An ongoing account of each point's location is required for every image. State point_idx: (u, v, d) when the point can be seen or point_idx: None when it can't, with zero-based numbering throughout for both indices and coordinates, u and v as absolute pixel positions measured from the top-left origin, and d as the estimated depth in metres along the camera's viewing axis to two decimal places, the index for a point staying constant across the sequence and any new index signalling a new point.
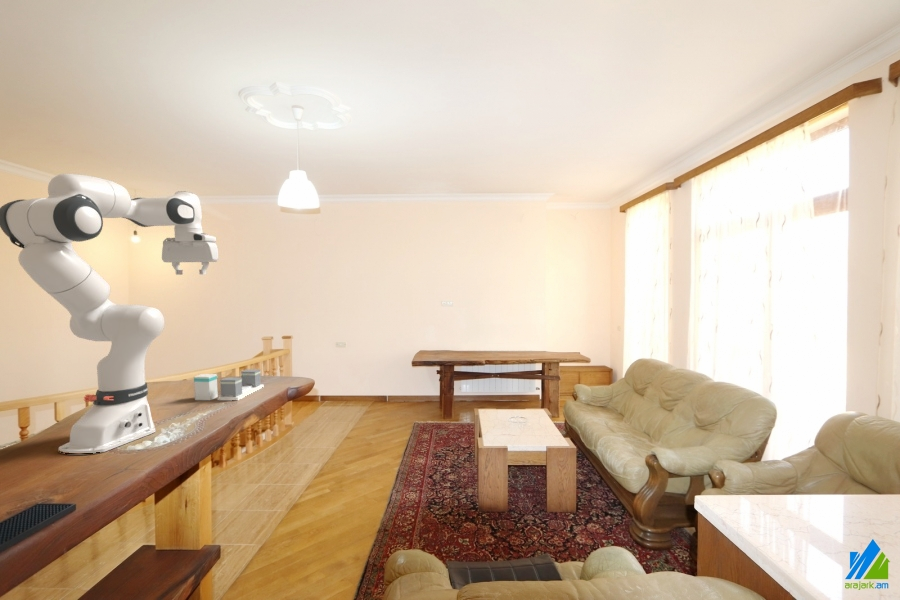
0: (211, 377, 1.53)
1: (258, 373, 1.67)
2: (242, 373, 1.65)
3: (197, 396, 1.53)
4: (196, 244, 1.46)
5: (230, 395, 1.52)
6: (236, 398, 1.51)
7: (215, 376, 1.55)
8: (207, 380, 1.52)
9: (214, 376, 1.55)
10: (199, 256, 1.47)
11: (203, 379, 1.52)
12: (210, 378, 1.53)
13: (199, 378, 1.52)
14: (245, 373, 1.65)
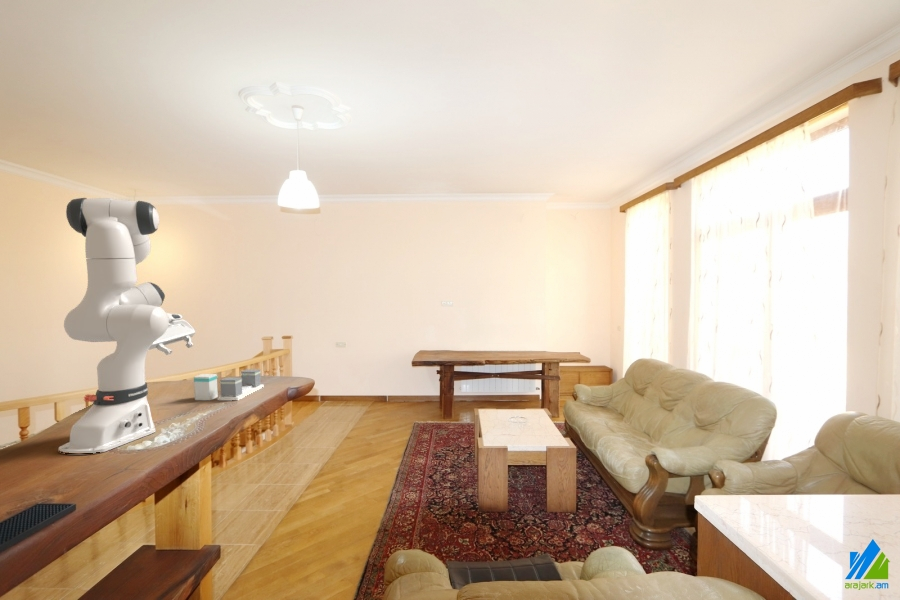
0: (211, 377, 1.53)
1: (258, 373, 1.67)
2: (242, 373, 1.65)
3: (197, 396, 1.53)
4: (176, 322, 1.60)
5: (230, 395, 1.52)
6: (236, 398, 1.51)
7: (215, 376, 1.55)
8: (207, 380, 1.52)
9: (214, 376, 1.55)
10: (183, 331, 1.61)
11: (203, 379, 1.52)
12: (210, 378, 1.53)
13: (199, 378, 1.52)
14: (245, 373, 1.65)
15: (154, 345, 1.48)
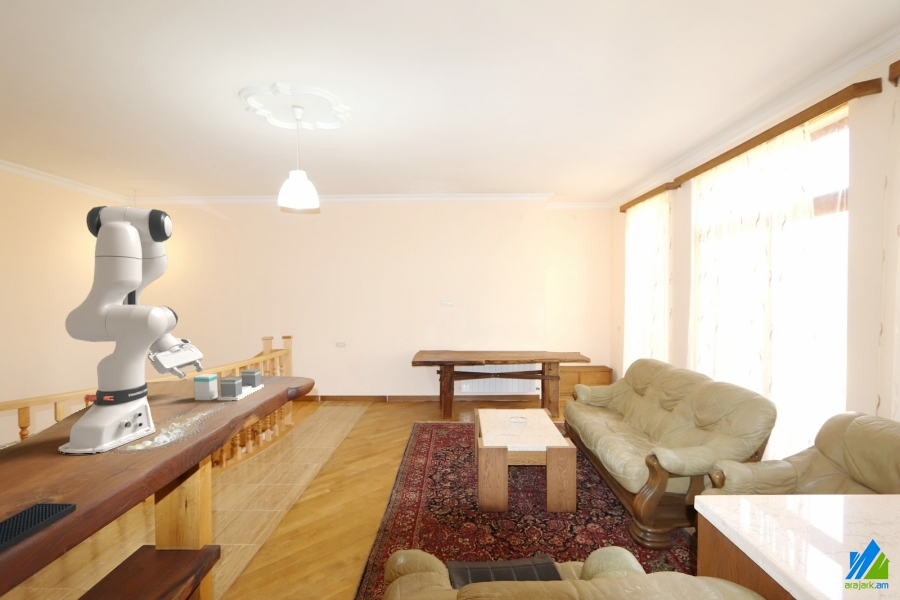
0: (211, 377, 1.53)
1: (258, 373, 1.67)
2: (242, 373, 1.65)
3: (197, 396, 1.53)
4: (185, 347, 1.59)
5: (230, 395, 1.52)
6: (236, 398, 1.51)
7: (215, 376, 1.55)
8: (207, 380, 1.52)
9: (214, 376, 1.55)
10: (193, 356, 1.60)
11: (203, 379, 1.52)
12: (210, 378, 1.53)
13: (199, 378, 1.52)
14: (245, 373, 1.65)
15: (169, 369, 1.47)
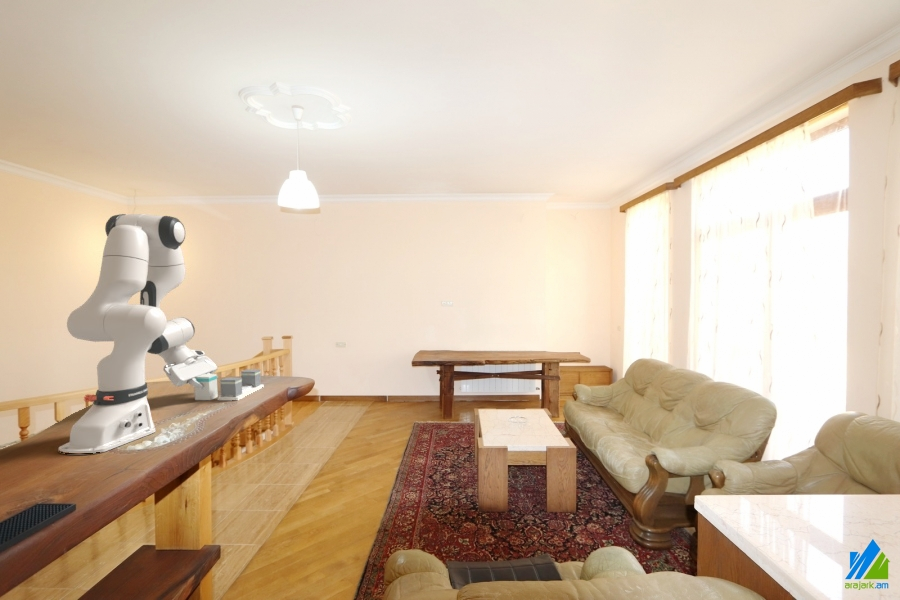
0: (211, 377, 1.53)
1: (258, 373, 1.67)
2: (242, 373, 1.65)
3: (197, 396, 1.53)
4: (200, 358, 1.59)
5: (230, 395, 1.52)
6: (236, 398, 1.51)
7: (215, 376, 1.55)
8: (207, 380, 1.52)
9: (214, 376, 1.55)
10: (207, 367, 1.59)
11: (203, 379, 1.52)
12: (210, 378, 1.53)
13: (199, 378, 1.52)
14: (245, 373, 1.65)
15: (184, 381, 1.46)
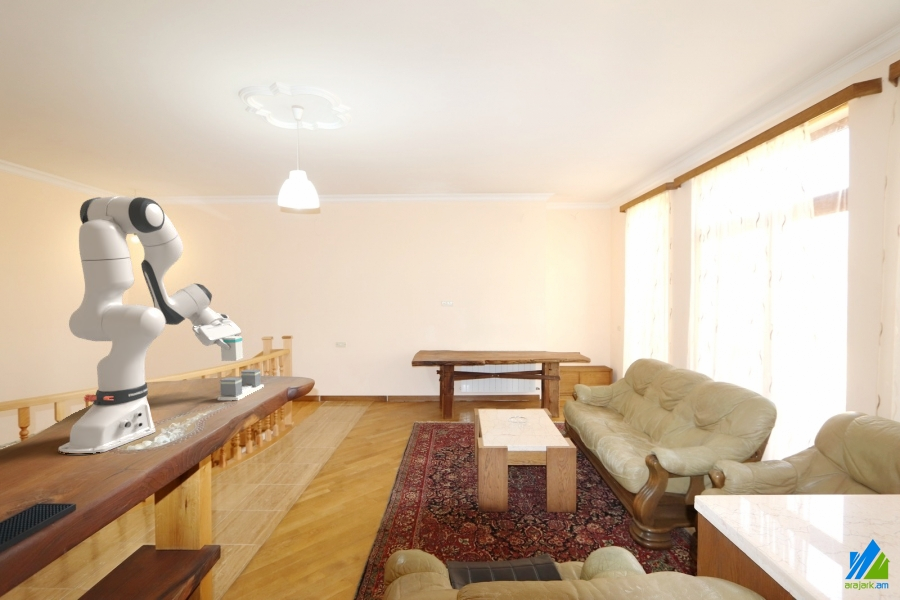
0: (237, 338, 1.57)
1: (258, 373, 1.67)
2: (242, 373, 1.65)
3: (223, 357, 1.57)
4: (225, 322, 1.63)
5: (230, 395, 1.52)
6: (236, 398, 1.51)
7: (241, 338, 1.60)
8: (233, 341, 1.56)
9: (240, 338, 1.59)
10: (232, 330, 1.64)
11: (230, 340, 1.56)
12: (236, 339, 1.57)
13: (226, 339, 1.56)
14: (245, 373, 1.65)
15: (213, 341, 1.51)
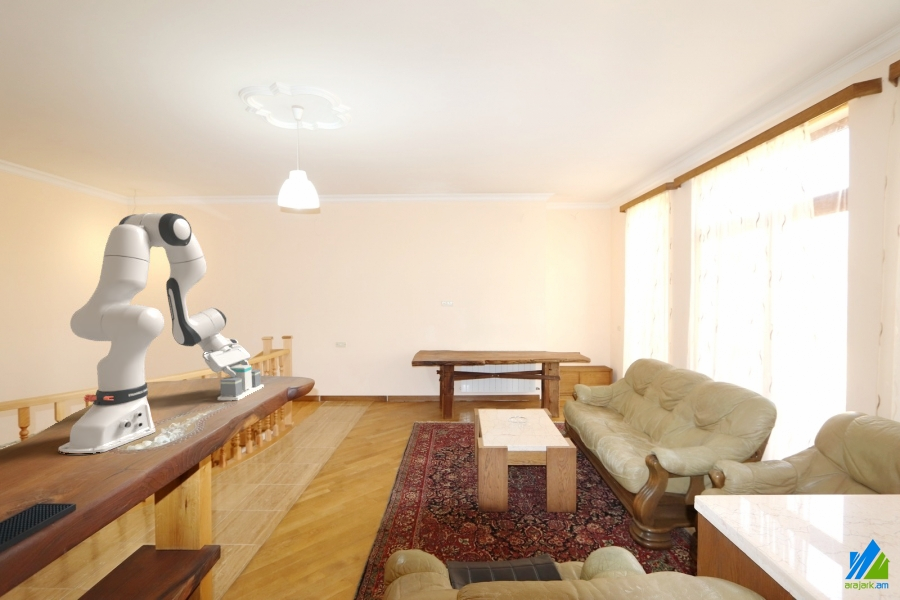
0: (246, 368, 1.59)
1: (258, 373, 1.67)
2: None
3: None
4: (234, 347, 1.65)
5: (230, 395, 1.52)
6: (236, 398, 1.51)
7: (250, 367, 1.61)
8: (243, 371, 1.58)
9: (249, 367, 1.61)
10: (241, 355, 1.65)
11: (239, 370, 1.58)
12: (245, 369, 1.58)
13: (235, 369, 1.58)
14: None
15: (222, 368, 1.52)
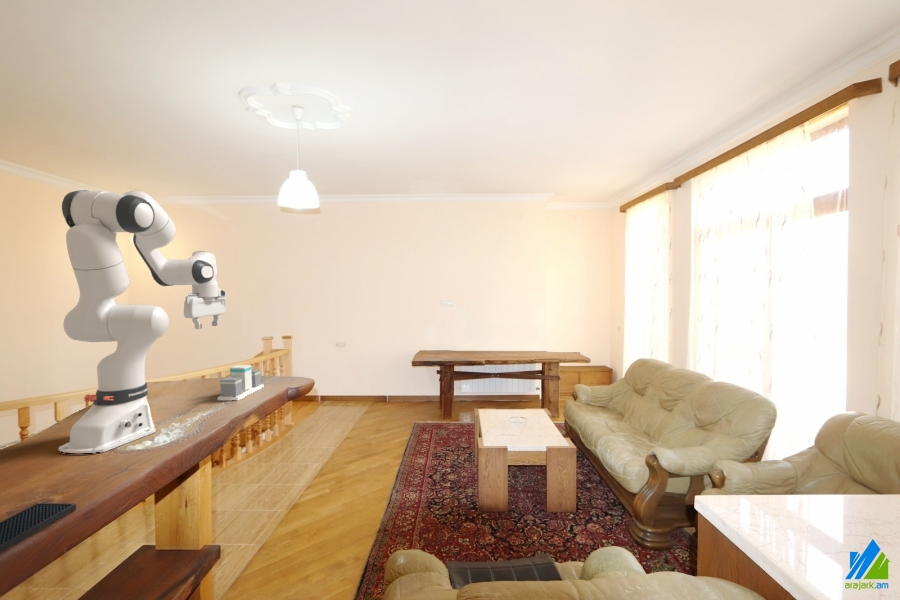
0: (246, 368, 1.59)
1: (258, 373, 1.67)
2: None
3: None
4: (219, 299, 1.64)
5: (230, 395, 1.52)
6: (236, 398, 1.51)
7: (250, 367, 1.61)
8: (243, 371, 1.58)
9: (249, 367, 1.61)
10: (219, 309, 1.64)
11: (239, 370, 1.58)
12: (245, 369, 1.58)
13: (235, 369, 1.58)
14: None
15: (193, 317, 1.52)
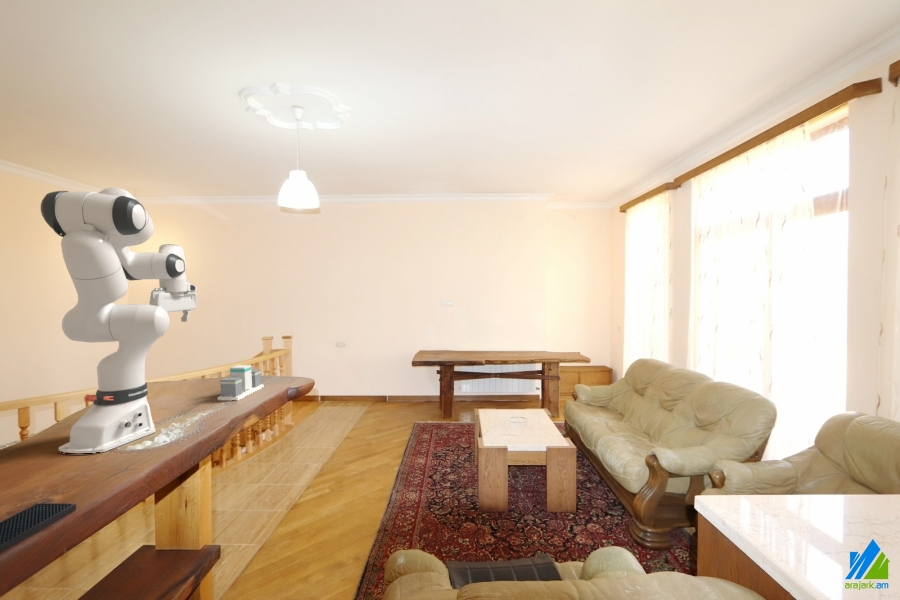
0: (246, 368, 1.59)
1: (258, 373, 1.67)
2: None
3: None
4: (189, 294, 1.59)
5: (230, 395, 1.52)
6: (236, 398, 1.51)
7: (250, 367, 1.61)
8: (243, 371, 1.58)
9: (249, 367, 1.61)
10: (188, 305, 1.59)
11: (239, 370, 1.58)
12: (245, 369, 1.58)
13: (235, 369, 1.58)
14: None
15: None
